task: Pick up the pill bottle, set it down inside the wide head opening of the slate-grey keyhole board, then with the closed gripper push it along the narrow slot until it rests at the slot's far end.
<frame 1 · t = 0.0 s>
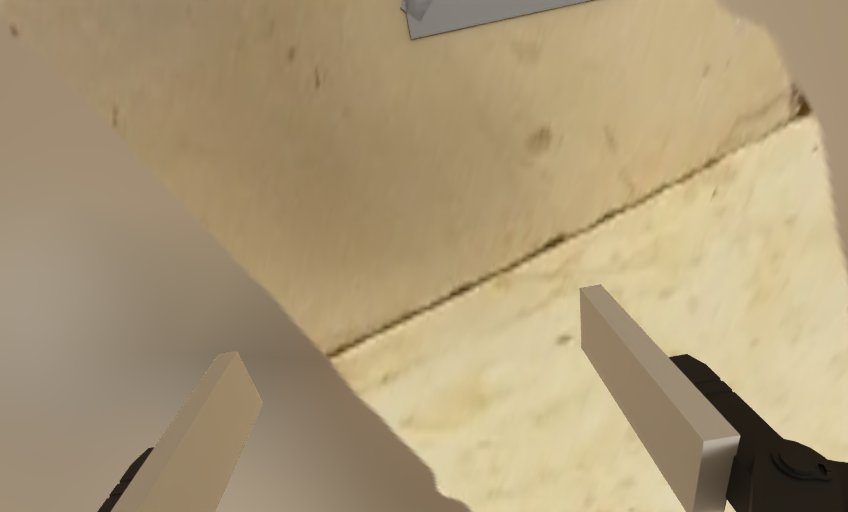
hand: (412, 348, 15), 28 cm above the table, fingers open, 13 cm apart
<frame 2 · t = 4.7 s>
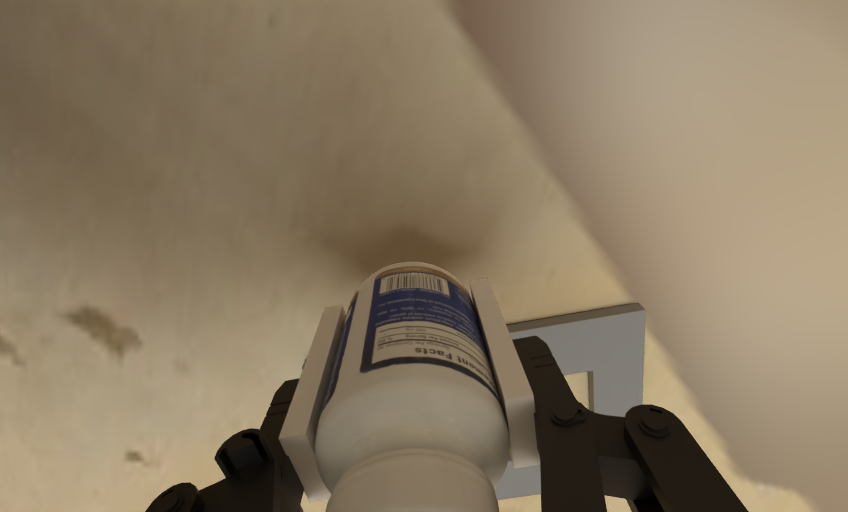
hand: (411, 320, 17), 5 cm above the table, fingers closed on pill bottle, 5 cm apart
pill bottle: (412, 310, 17), point 5 cm above the table, touching gripper
keyhole board: (483, 418, 26), on the table
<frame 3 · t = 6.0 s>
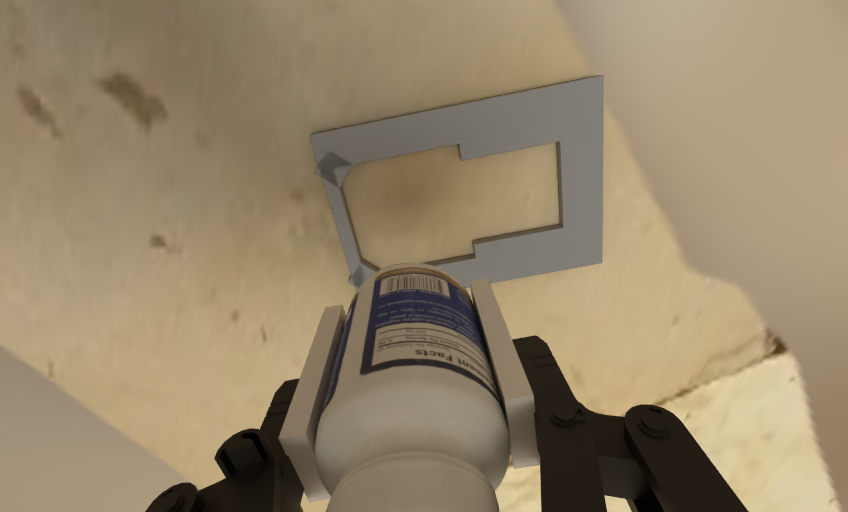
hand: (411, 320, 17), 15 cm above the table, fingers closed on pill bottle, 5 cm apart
pill bottle: (412, 311, 17), point 14 cm above the table, touching gripper
keyhole board: (466, 201, 30), on the table
when the fingers open (1 cm above the table, at t = 7.7 s): pill bottle stays where it is, resting in keyhole board.
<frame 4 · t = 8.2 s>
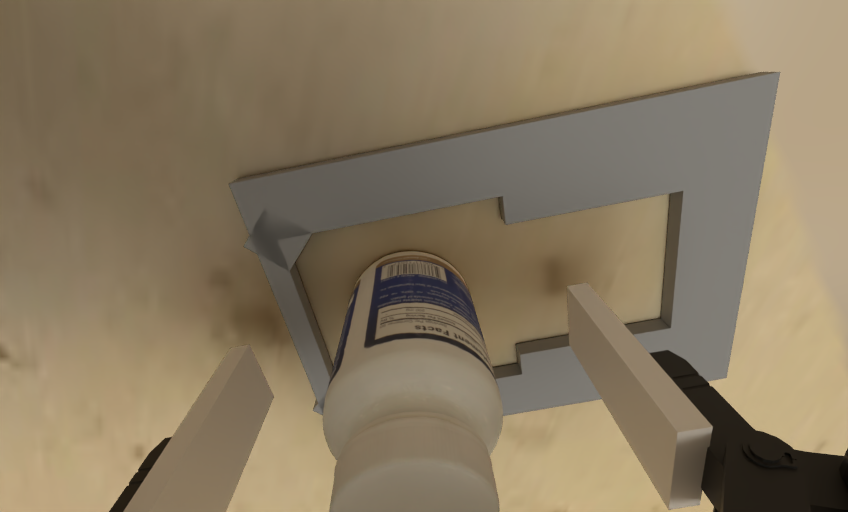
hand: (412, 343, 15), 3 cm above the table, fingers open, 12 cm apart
pill bottle: (411, 299, 18), resting in keyhole board
keyhole board: (509, 286, 18), on the table
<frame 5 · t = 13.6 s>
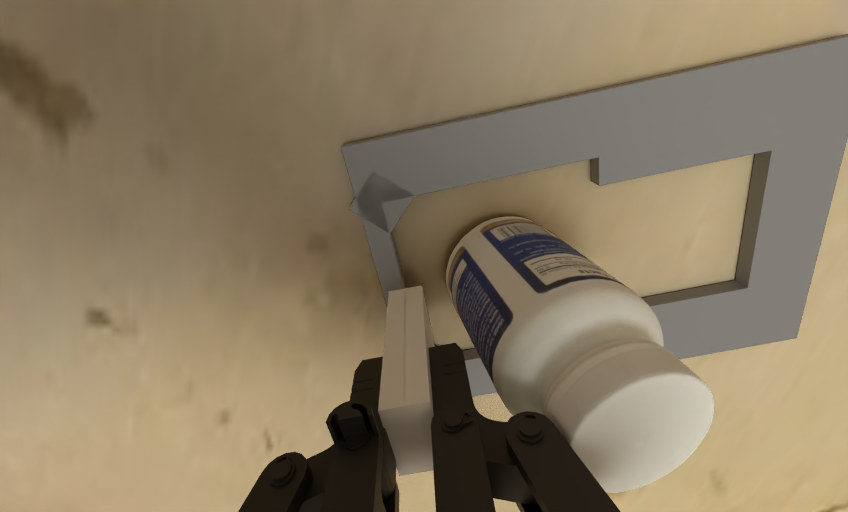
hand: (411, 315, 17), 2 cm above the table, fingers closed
pill bottle: (498, 266, 18), resting in keyhole board, touching gripper
keyhole board: (592, 248, 18), on the table
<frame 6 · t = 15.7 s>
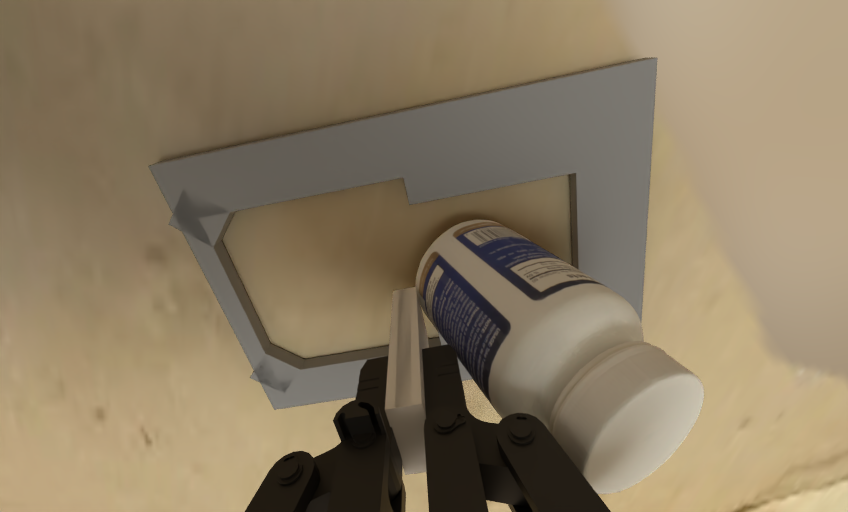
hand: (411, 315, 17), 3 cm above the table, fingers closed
pill bottle: (465, 269, 18), point 1 cm above the table, touching gripper
keyhole board: (424, 263, 19), on the table
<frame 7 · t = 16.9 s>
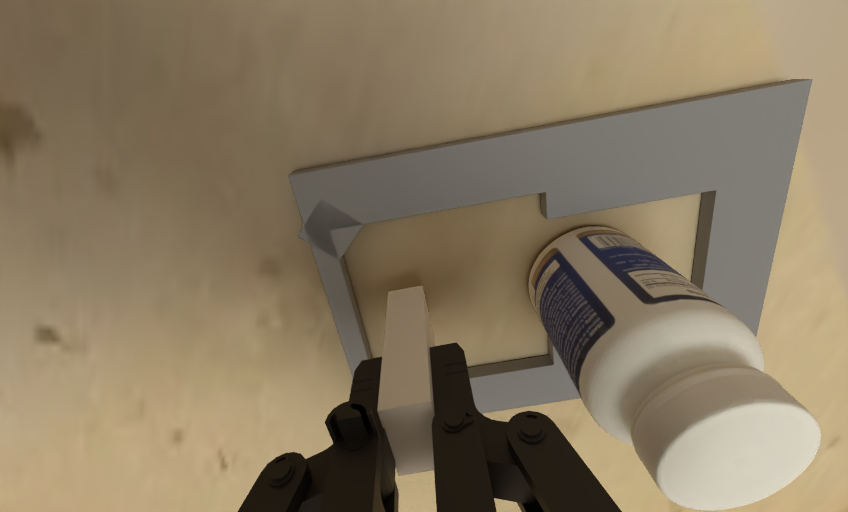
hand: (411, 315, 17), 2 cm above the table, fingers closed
pill bottle: (581, 274, 19), resting in keyhole board
keyhole board: (544, 279, 18), on the table
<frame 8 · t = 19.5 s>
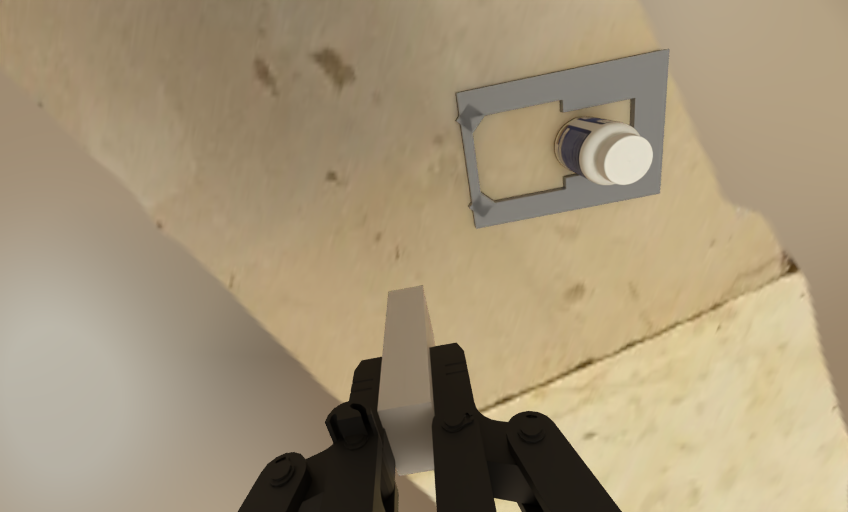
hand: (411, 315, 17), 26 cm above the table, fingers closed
pill bottle: (578, 143, 40), resting in keyhole board
keyhole board: (561, 145, 40), on the table
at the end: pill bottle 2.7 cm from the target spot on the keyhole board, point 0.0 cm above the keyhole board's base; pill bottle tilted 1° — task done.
